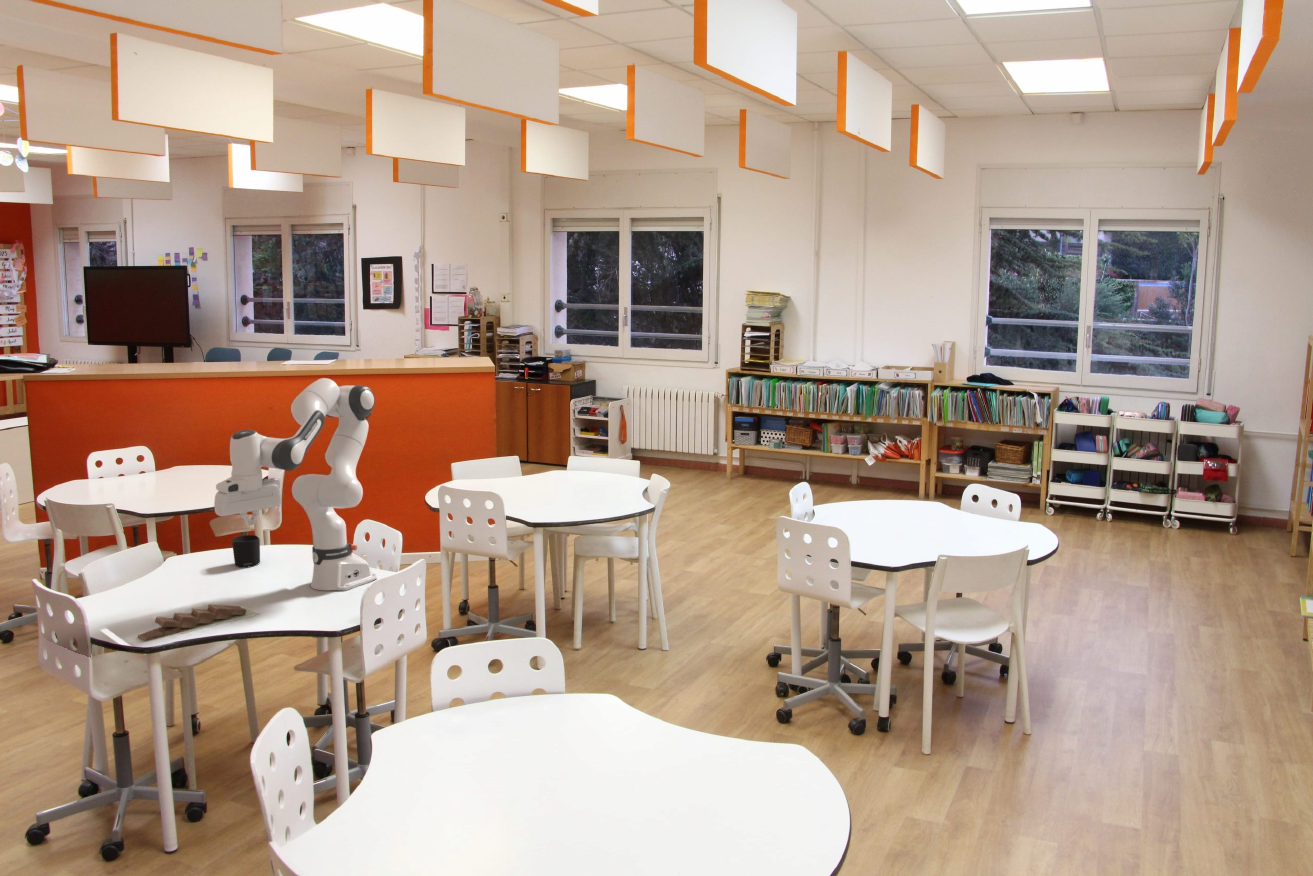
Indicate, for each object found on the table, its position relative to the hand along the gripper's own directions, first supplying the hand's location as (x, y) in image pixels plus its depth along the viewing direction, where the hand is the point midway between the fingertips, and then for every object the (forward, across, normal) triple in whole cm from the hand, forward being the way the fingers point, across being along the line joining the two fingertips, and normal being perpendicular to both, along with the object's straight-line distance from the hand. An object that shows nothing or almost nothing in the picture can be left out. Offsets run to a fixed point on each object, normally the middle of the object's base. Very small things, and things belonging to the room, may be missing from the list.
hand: (250, 524), depth 306 cm
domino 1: (+27, +20, 0) cm, 34 cm away
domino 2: (+27, +15, 0) cm, 31 cm away
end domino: (+27, +25, 0) cm, 37 cm away
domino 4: (+27, +4, 0) cm, 28 cm away
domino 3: (+27, +9, 0) cm, 29 cm away
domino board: (+29, +13, 0) cm, 32 cm away
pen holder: (+29, -21, -52) cm, 63 cm away
